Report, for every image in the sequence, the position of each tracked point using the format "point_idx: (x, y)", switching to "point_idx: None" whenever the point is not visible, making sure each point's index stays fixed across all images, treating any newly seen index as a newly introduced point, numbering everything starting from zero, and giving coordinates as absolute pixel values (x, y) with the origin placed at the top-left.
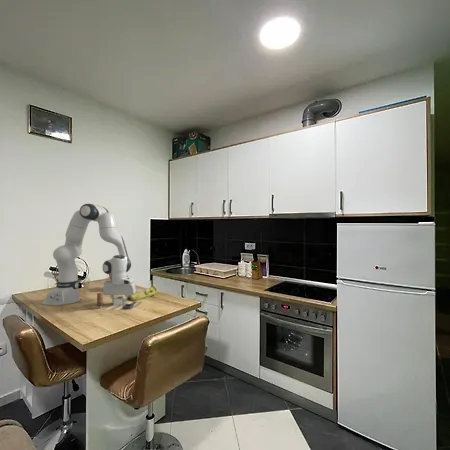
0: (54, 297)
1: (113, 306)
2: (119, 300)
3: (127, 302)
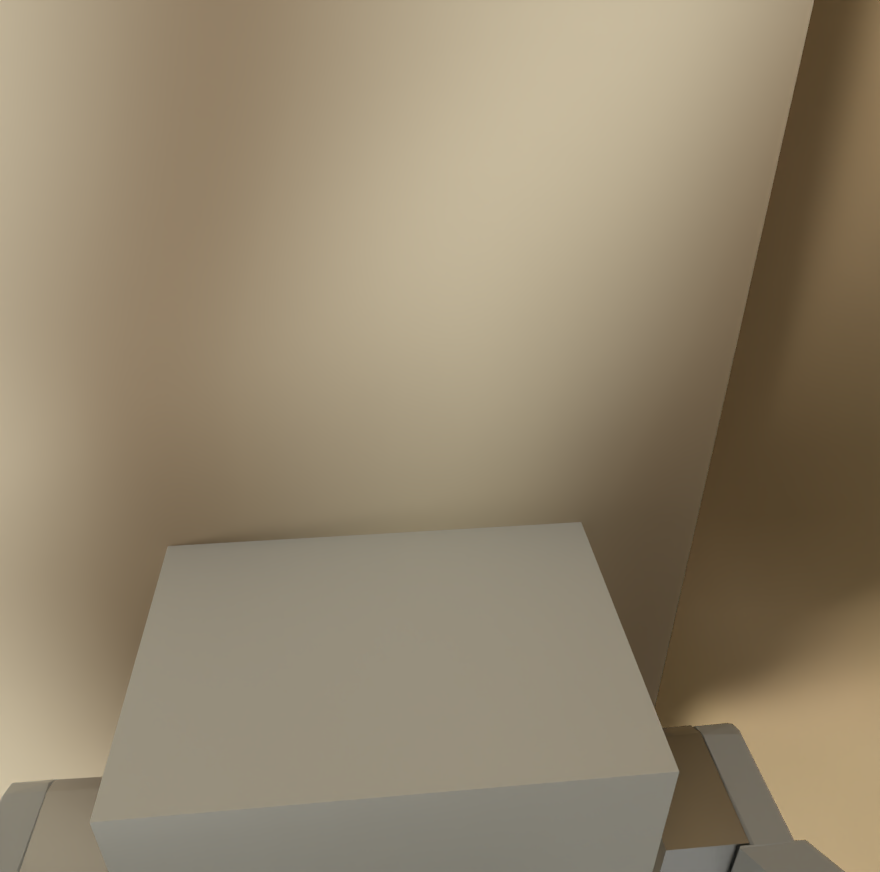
0: None
1: (473, 299)
2: (233, 741)
3: None
